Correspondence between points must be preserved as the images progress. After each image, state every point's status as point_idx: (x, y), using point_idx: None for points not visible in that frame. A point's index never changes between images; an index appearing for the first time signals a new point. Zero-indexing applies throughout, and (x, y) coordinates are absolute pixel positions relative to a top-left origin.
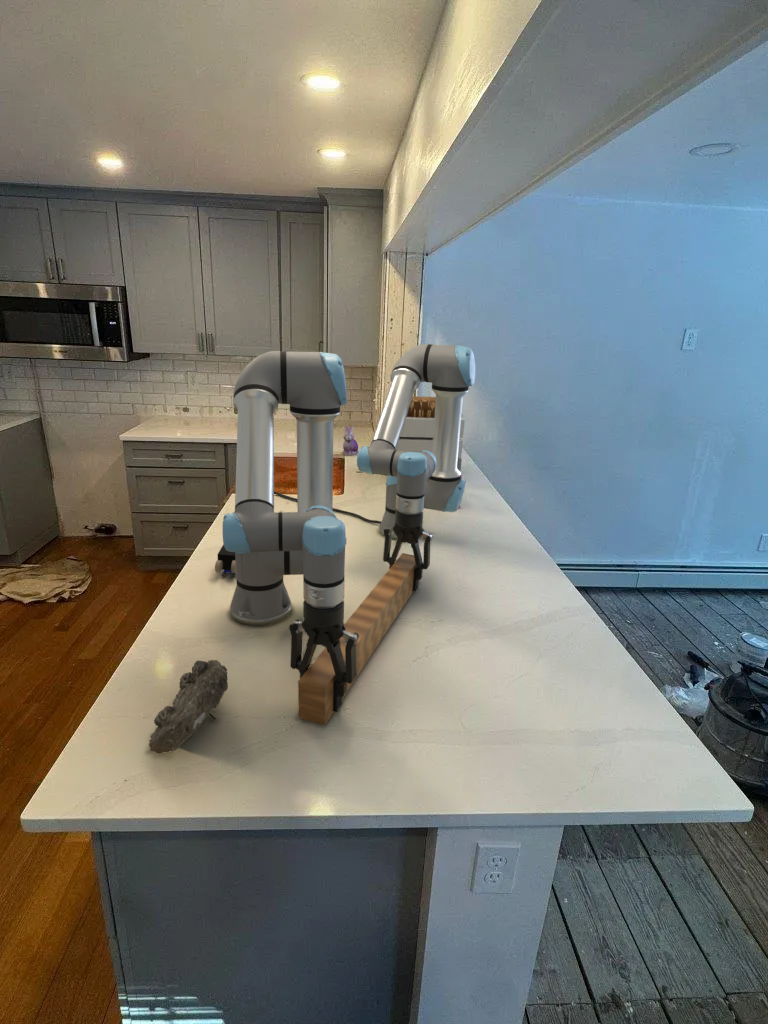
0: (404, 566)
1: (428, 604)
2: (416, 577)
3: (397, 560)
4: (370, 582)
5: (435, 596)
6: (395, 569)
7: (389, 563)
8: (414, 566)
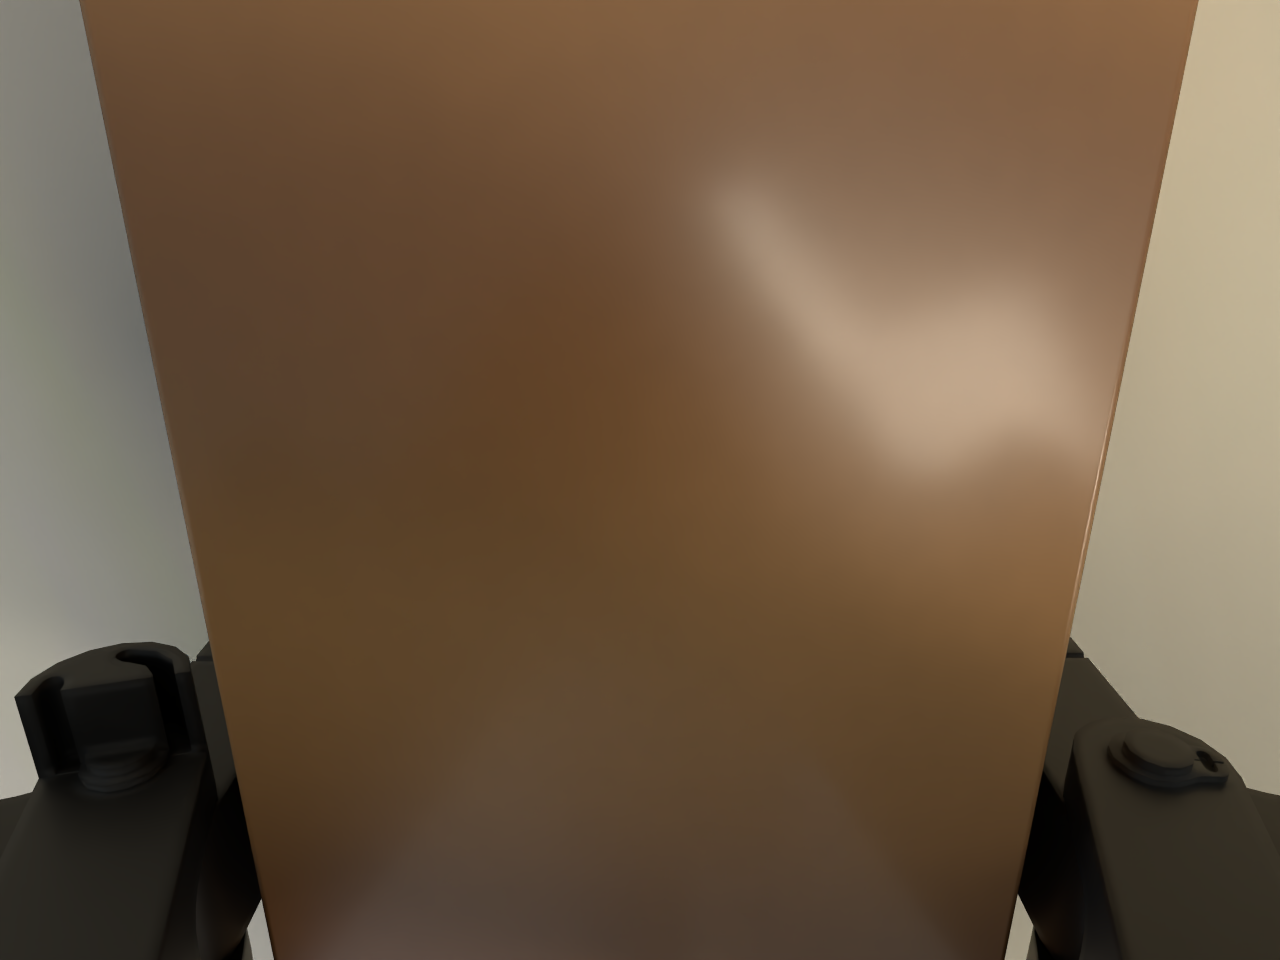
0: (558, 573)
1: (16, 112)
2: None
3: (972, 921)
4: (1272, 493)
5: (60, 462)
6: (867, 62)
7: (1198, 749)
8: (269, 790)
